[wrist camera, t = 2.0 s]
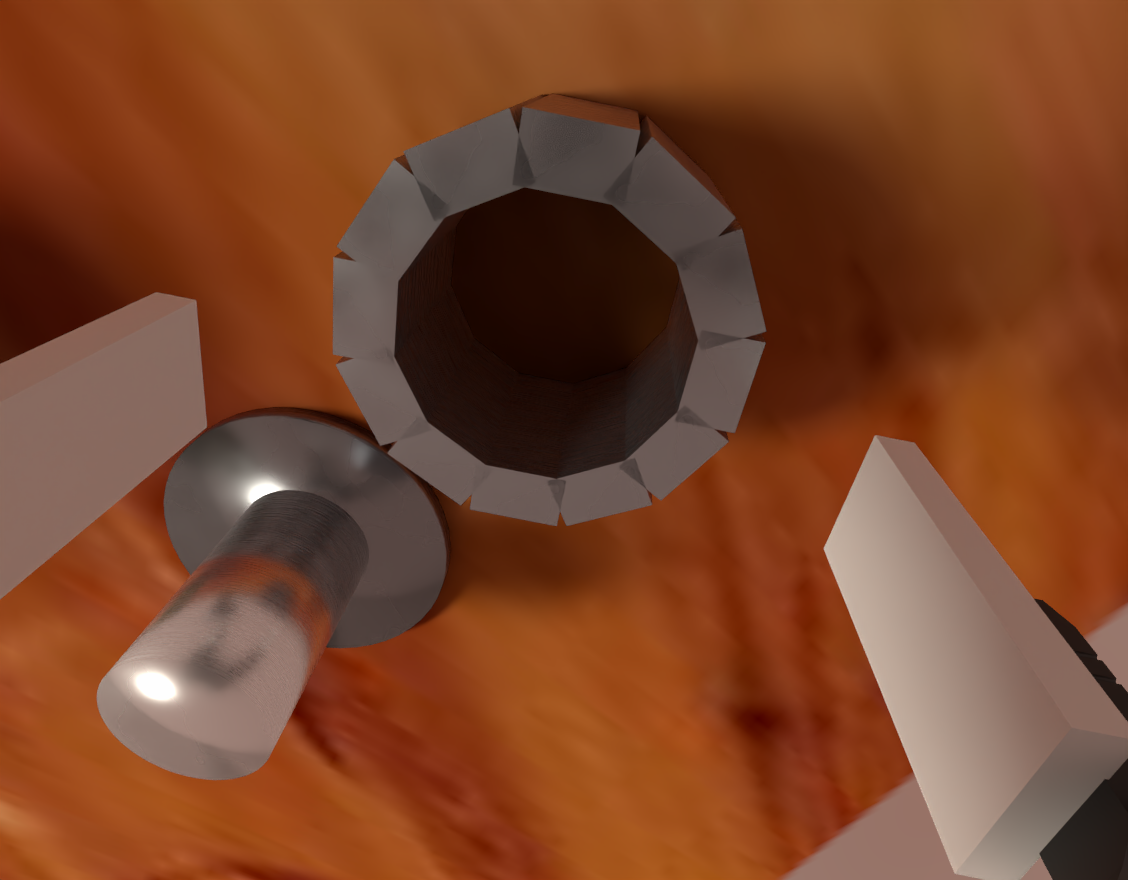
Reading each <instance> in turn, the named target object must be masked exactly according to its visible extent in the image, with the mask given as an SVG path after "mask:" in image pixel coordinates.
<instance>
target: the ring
mask: <svg viewBox="0 0 1128 880" xmlns="http://www.w3.org/2000/svg"><path fill="white" fill-rule="evenodd" d="M404 154H405V155H403V156H400V157H398V158H396V159H394V160H393V162H392V163H391V165H390V166H389V168H388V169H387V171H386V172H385V174H384V175H383V177H382V178H381V180H380V181H379V183H378V184H377V186H376V187H375V189H374V190H373V192H372V194H371V195H370V197H369V198H368V200H367V201H366V203H365V204H364V206H363V207H362V209H361V210H360V212H359V213H358V215H357V216H356V218H355V219H354V221H353V222H352V224H351V225H350V227H349V228H348V230H347V232H346V233H345V235H344V236H343V238H342V239H341V241H340V242H339V244H338V245H337V247H338V248H339V249H341V250H342V252H341V253H339V254H338V255H336V256H335V257H334V271H333V354H334V355H339V356H343V357H342V358H341V359H340V361H339V362H338V363H337V364H336V366H337V368H338V370H339V372H340V373H341V375H342V377H343V379H344V381H345V383H346V384H347V386H348V388H349V390H350V392H351V393H352V395H353V397H354V399H355V401H356V403H357V404H358V406H359V408H360V410H361V412H362V413H363V415H364V417H365V419H366V421H367V423H368V424H369V426H370V428H371V430H372V432H373V433H374V435H375V437H376V439H377V441H378V443H379V444H380V446H381V445H385V444H388V443H392V442H394V443H393V445H392V446H391V448H390V450H389V451H388V453H387V454H389V455H390V456H392V457H393V458H394V459H396V460H397V461H399V462H400V463H401V464H403V465H404V466H406V467H407V468H408V469H410V470H411V471H413V472H414V473H416V474H417V475H418V476H420V477H421V478H423V479H424V480H425V481H427V482H428V483H430V484H431V485H432V486H434V487H435V488H437V489H438V490H440V491H441V492H442V493H444V494H445V495H447V496H448V497H449V498H451V499H452V500H454V501H455V502H456V503H458V504H459V505H462V504H463V503H464V502H465V501H466V499H467V498H468V497H469V496H470V495H471V494H472V497H471V505H470V510H476V511H481V512H486V513H491V514H496V515H501V516H506V517H512V518H517V519H522V520H527V521H532V522H537V523H543V524H548V525H553V526H557V522H558V518H559V513H560V512H561V514H562V517H563V519H564V521H565V524H566V526H569V525H573V524H577V523H581V522H585V521H589V520H593V519H597V518H601V517H605V516H609V515H613V514H617V513H622V512H626V511H630V510H634V509H638V508H642V507H646V506H650V505H652V494H653V495H655V496H656V497H657V498H658V499H660V500H662V499H663V498H664V497H666V496H667V495H668V494H669V493H670V492H671V491H672V490H674V489H675V488H676V487H677V486H678V485H679V484H681V483H682V482H683V481H684V480H685V479H686V478H687V477H689V476H690V475H691V474H692V473H693V472H694V471H696V470H697V469H698V468H699V467H700V466H701V465H702V464H704V463H705V462H706V461H707V460H708V459H709V458H711V457H712V456H713V455H714V454H715V453H716V452H717V451H719V450H720V449H721V448H722V447H723V446H724V445H726V444H727V443H728V442H729V440H728V436H727V432H732V433H735V431H736V428H737V425H738V422H739V419H740V416H741V413H742V411H743V408H744V405H745V402H746V399H747V396H748V393H749V390H750V387H751V384H752V381H753V379H754V376H755V373H756V370H757V367H758V364H759V361H760V358H761V355H762V352H763V349H764V347H765V344H766V342H765V340H764V338H763V336H762V334H761V333H763V332H766V327H765V323H764V319H763V315H762V310H761V306H760V302H759V298H758V294H757V289H756V285H755V281H754V277H753V272H752V268H751V264H750V260H749V255H748V251H747V247H746V243H745V239H744V234H743V230H742V228H741V226H740V225H739V223H738V222H737V220H736V219H735V218H736V217H735V216H734V214H733V212H732V211H731V209H730V208H729V206H728V205H727V203H726V202H725V200H724V199H723V197H722V196H721V194H720V193H719V191H718V190H717V188H716V187H715V185H714V184H713V182H712V181H711V179H710V178H709V176H708V175H707V174H706V173H705V172H704V171H703V170H702V169H701V168H700V167H699V166H698V165H697V164H696V163H695V162H694V161H693V160H692V159H691V158H690V157H689V156H688V155H687V154H686V153H685V152H684V151H682V150H681V149H680V148H679V147H678V146H677V145H676V144H675V143H674V142H673V141H672V140H671V139H670V138H669V137H668V136H667V135H666V134H665V133H664V132H663V131H662V130H661V129H660V128H659V127H658V126H657V125H656V124H655V123H654V122H653V121H652V120H651V119H650V118H649V117H648V116H647V115H646V116H645V117H644V119H643V120H642V121H641V122H640V124H639V117H638V111H637V110H632V109H627V108H622V107H617V106H612V105H607V104H602V103H597V102H592V101H587V100H582V99H577V98H572V97H567V96H562V95H557V94H550V95H548V96H546V97H543V94H542V95H540V96H537V97H535V98H533V99H530V100H528V101H525V102H523V103H520V104H518V105H515V106H513V107H511V108H508V109H506V110H503V111H501V112H498V113H496V114H493V115H491V116H489V117H486V118H484V119H481V120H479V121H476V122H474V123H471V124H469V125H467V126H464V127H462V128H459V129H457V130H454V131H452V132H449V133H447V134H445V135H442V136H440V137H437V138H435V139H432V140H430V141H427V142H425V143H423V144H420V145H418V146H415V147H413V148H410V149H408V150H406V151H404ZM524 187H526V188H531V189H536V190H541V191H546V192H551V193H556V194H561V195H566V196H571V197H576V198H581V199H586V200H591V201H596V202H601V203H606V204H611V205H613V206H614V207H615V208H616V209H617V210H618V211H619V212H621V213H622V214H623V215H624V216H625V217H626V218H627V219H628V220H629V221H630V222H631V223H633V224H634V225H635V226H636V227H637V228H638V229H639V230H640V231H641V232H642V233H644V234H645V235H646V236H647V237H648V238H649V239H650V240H651V241H652V242H653V243H655V244H656V245H657V246H658V247H659V248H660V249H661V250H662V251H663V252H664V253H665V254H667V255H668V256H669V257H670V258H671V259H672V260H673V261H674V262H675V263H676V264H677V268H678V271H679V275H680V277H679V281H678V285H677V289H676V293H675V296H674V300H673V304H672V308H671V312H670V315H669V319H668V323H667V327H666V328H665V329H664V330H663V331H662V332H661V333H660V334H659V335H658V336H657V338H656V339H655V340H654V341H653V342H652V343H651V344H650V345H649V346H648V347H647V348H646V349H645V350H644V351H643V352H642V353H641V354H640V355H639V356H638V357H637V358H636V359H635V360H634V361H633V362H632V363H631V364H630V365H629V366H628V367H627V368H625V369H621V370H618V371H614V372H611V373H608V374H604V375H601V376H598V377H594V378H591V379H588V380H584V381H581V382H578V383H574V384H572V383H567V382H561V381H556V380H551V379H546V378H541V377H536V376H531V375H526V374H521V373H518V372H517V371H515V370H514V369H513V368H512V367H510V366H509V365H508V364H506V363H505V362H504V361H503V360H501V359H500V358H499V357H498V356H496V355H495V354H494V353H493V352H491V351H490V350H489V349H488V348H486V347H485V346H484V345H482V344H481V343H480V342H479V341H477V340H476V339H475V338H474V336H473V334H472V332H471V330H470V327H469V325H468V323H467V321H466V318H465V316H464V314H463V312H462V309H461V307H460V305H459V303H458V300H457V298H456V296H455V293H454V291H453V289H452V287H451V277H452V266H453V256H454V245H455V234H456V225H457V224H458V223H459V221H460V220H461V219H462V217H463V216H464V214H465V213H466V212H467V210H468V209H469V208H471V207H473V206H476V205H479V204H481V203H484V202H487V201H489V200H492V199H495V198H497V197H500V196H503V195H505V194H508V193H511V192H513V191H516V190H519V189H521V188H524ZM726 431H727V432H726ZM651 493H652V494H651Z"/></svg>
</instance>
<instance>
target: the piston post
mask: <svg viewBox="0 0 1128 880" xmlns="http://www.w3.org/2000/svg"><path fill="white" fill-rule="evenodd" d="M390 448H391V445H389V444H385V445H381V446H380V444H379V443H378V441H377V439H376V437H375V435H374V434H373V433H371V432H369V431H367V430H365V429H363V428H361V427H359V426H357V425H355V424H353V423H351V422H348V421H346V420H343V419H340V418H337V417H335V416H332V415H328V414H324V413H320V412H316V411H312V410H304V409H297V408H265V409H256V410H251V411H247V412H243V413H239V414H236V415H234V416H231V417H229V418H227V419H224V420H222V421H220V422H219V423H217V424H216V425H214V426H212V427H211V428H209V429H208V430H207V431H206V432H204V433H203V434H202V435H201V436H200V437H199V438H198V439H196V440H195V441H194V442H193V443H192V444H191V445H190V446H189V447H187V448H186V449H185V450H184V452H183V453H182V454H181V456H180V457H179V458H178V459H177V461H176V462H175V464H174V466H173V468H172V470H171V472H170V474H169V477H168V481H167V484H166V488H165V497H164V512H165V520H166V525H167V529H168V533H169V536H170V539H171V541H172V544H173V547H174V549H175V550H176V552H177V554H178V556H179V558H180V560H181V562H182V563H183V565H184V566H185V567H186V569H187V570H188V572H189V573H190V575H191V576H190V577H189V578H188V579H187V580H186V582H185V583H184V584H183V585H182V586H181V587H180V589H179V590H178V591H177V592H176V593H175V595H174V596H173V597H172V598H171V599H170V600H169V602H168V603H167V604H166V605H165V606H164V607H163V609H162V610H161V611H160V612H159V613H158V615H157V616H156V617H155V618H154V619H153V620H152V622H151V623H150V624H149V625H148V626H147V627H146V629H145V630H144V631H143V632H142V633H141V634H140V636H139V637H138V638H137V639H136V640H135V642H134V643H133V644H132V645H131V646H130V647H129V649H128V650H127V651H126V652H125V653H124V654H123V656H122V657H121V658H120V659H119V660H118V662H117V663H116V664H115V665H114V666H113V667H112V669H111V670H110V671H109V672H108V673H107V674H106V676H105V677H104V678H103V679H102V681H101V683H100V685H99V688H98V691H97V704H98V709H99V712H100V715H101V717H102V719H103V720H104V722H105V724H106V725H107V727H108V728H109V730H110V731H111V732H112V733H113V734H114V736H115V737H116V738H117V739H118V740H119V741H120V742H122V743H123V744H124V745H125V746H126V747H127V748H129V749H130V750H131V751H133V752H134V753H136V754H137V755H139V756H140V757H142V758H143V759H145V760H147V761H149V762H150V763H152V764H155V765H157V766H159V767H161V768H163V769H166V770H169V771H171V772H174V773H177V774H181V775H184V776H189V777H193V778H200V779H208V780H227V779H234V778H239V777H243V776H246V775H248V774H251V773H253V772H254V771H256V770H258V769H259V768H260V767H262V766H263V765H264V764H265V762H266V761H267V760H268V758H269V756H270V754H271V752H272V750H273V749H274V747H275V745H276V743H277V741H278V739H279V737H280V735H281V733H282V731H283V729H284V727H285V725H286V723H287V721H288V720H289V718H290V716H291V714H292V712H293V710H294V708H295V706H296V704H297V702H298V700H299V698H300V696H301V694H302V692H303V691H304V689H305V687H306V685H307V683H308V681H309V679H310V677H311V675H312V673H313V671H314V669H315V667H316V665H317V663H318V662H319V660H320V658H321V656H322V654H323V652H324V650H325V648H326V647H330V648H350V647H360V646H367V645H372V644H376V643H379V642H383V641H386V640H388V639H391V638H393V637H396V636H398V635H400V634H402V633H403V632H405V631H407V630H408V629H410V628H411V627H413V626H414V625H415V624H416V623H418V622H419V621H420V620H421V619H422V618H423V617H424V616H425V615H426V614H427V612H428V611H429V610H430V609H431V607H432V606H433V604H434V603H435V601H436V599H437V598H438V595H439V593H440V590H441V588H442V585H443V582H444V579H445V577H446V574H447V571H448V566H449V561H450V545H451V544H450V536H449V529H448V525H447V522H446V518H445V515H444V512H443V510H442V508H441V505H440V503H439V501H438V499H437V497H436V495H435V494H434V492H433V490H432V489H431V487H430V485H429V484H428V483H427V481H425V480H424V479H423V478H421V477H420V476H418V475H417V474H416V473H414V472H413V471H411V470H410V469H408V468H407V467H406V466H404V465H403V464H401V463H400V462H399V461H397V460H396V459H394V458H393V457H392V456H390V455H389V454H387V453H388V451H389V450H390Z"/></svg>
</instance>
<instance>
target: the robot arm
mask: <svg viewBox="0 0 1128 880" xmlns="http://www.w3.org/2000/svg"><path fill="white" fill-rule="evenodd" d="M206 427H207V420H206V409H205V397H204V385H203V374H202V362H201V351H200V339H199V328H198V316H197V304H196V300H193V299H188V298H183V297H178V296H173V295H168V294H163V293H158V292H155V293H153V294H151V295H149V296H147V297H145V298H142V299H140V300H138V301H136V302H134V303H131V304H129V305H127V306H125V307H123V308H121V309H118V310H116V311H114V312H112V313H110V314H108V315H105V316H103V317H101V318H99V319H97V320H95V321H92V322H90V323H88V324H86V325H84V326H82V327H79V328H77V329H75V330H73V331H71V332H69V333H66V334H64V335H62V336H60V337H58V338H55V339H53V340H51V341H49V342H47V343H45V344H42V345H40V346H38V347H36V348H34V349H32V350H29V351H27V352H25V353H23V354H21V355H19V356H16V357H14V358H12V359H10V360H8V361H6V362H3V363H1V364H0V599H1V598H2V597H4V596H5V595H6V594H7V593H8V592H10V591H11V590H12V589H13V588H14V587H16V586H17V585H18V584H19V583H20V582H22V581H23V580H24V579H25V578H26V577H28V576H29V575H30V574H31V573H32V572H34V571H35V570H36V569H37V568H38V567H40V566H41V565H42V564H43V563H44V562H46V561H47V560H48V559H49V558H50V557H52V556H53V555H54V554H55V553H56V552H58V551H59V550H60V549H61V548H62V547H64V546H65V545H66V544H67V543H68V542H70V541H71V540H72V539H73V538H74V537H76V536H77V535H78V534H79V533H80V532H82V531H83V530H84V529H85V528H86V527H88V526H89V525H90V524H91V523H92V522H94V521H95V520H96V519H97V518H98V517H100V516H101V515H102V514H103V513H104V512H106V511H107V510H108V509H109V508H110V507H112V506H113V505H114V504H115V503H116V502H118V501H119V500H120V499H121V498H122V497H124V496H125V495H126V494H127V493H128V492H130V491H131V490H132V489H133V488H134V487H136V486H137V485H138V484H139V483H140V482H142V481H143V480H144V479H145V478H146V477H148V476H149V475H150V474H151V473H152V472H154V471H155V470H156V469H157V468H158V467H160V466H161V465H162V464H163V463H164V462H166V461H167V460H168V459H169V458H170V457H172V456H173V455H174V454H175V453H176V452H178V451H179V450H180V449H181V448H182V447H184V446H185V445H186V444H187V443H188V442H190V441H191V440H192V439H193V438H194V437H196V436H197V435H198V434H199V433H200V432H202V431H203V430H204V429H205V428H206ZM824 551H825V553H826V556H827V558H828V561H829V563H830V566H831V568H832V571H833V573H834V576H835V578H836V580H837V583H838V585H839V588H840V590H841V593H842V595H843V598H844V600H845V603H846V605H847V608H848V610H849V613H850V615H851V618H852V620H853V623H854V625H855V628H856V630H857V633H858V635H859V638H860V640H861V643H862V645H863V647H864V650H865V652H866V655H867V657H868V660H869V662H870V665H871V667H872V670H873V672H874V675H875V677H876V680H877V682H878V685H879V687H880V690H881V692H882V695H883V697H884V700H885V702H886V705H887V707H888V710H889V712H890V714H891V717H892V719H893V722H894V724H895V727H896V729H897V732H898V734H899V737H900V739H901V742H902V744H903V747H904V749H905V752H906V754H907V757H908V759H909V762H910V764H911V767H912V769H913V772H914V774H915V777H916V779H917V781H918V784H919V786H920V788H921V791H922V794H923V796H924V799H925V801H926V804H927V806H928V809H929V811H930V814H931V816H932V819H933V821H934V824H935V826H936V828H937V831H938V833H939V836H940V838H941V841H942V843H943V846H944V848H945V851H946V853H947V856H948V858H949V861H950V863H951V866H952V868H953V871H954V873H955V874H959V875H964V876H969V877H973V878H979V879H984V880H1020V879H1021V878H1022V877H1023V876H1024V875H1025V873H1026V872H1027V871H1028V870H1029V869H1030V868H1031V867H1032V866H1033V864H1034V863H1035V862H1036V861H1037V860H1038V859H1039V858H1040V857H1041V858H1042V860H1043V862H1044V864H1045V866H1046V867H1047V870H1048V871H1049V873H1050V875H1051V877H1052V879H1053V880H1128V692H1127V691H1126V690H1125V689H1124V688H1123V686H1122V685H1120V684H1116V677H1115V676H1114V675H1113V674H1112V673H1111V671H1110V670H1109V669H1108V668H1107V666H1106V665H1105V664H1104V662H1103V661H1101V660H1097V654H1096V652H1095V651H1094V650H1093V649H1092V648H1091V646H1090V645H1089V644H1088V642H1087V641H1086V640H1085V639H1084V637H1083V636H1082V635H1081V634H1080V632H1079V631H1078V630H1077V629H1076V627H1074V626H1073V625H1072V624H1071V623H1070V622H1068V621H1067V620H1066V619H1065V618H1064V617H1062V616H1061V615H1060V614H1059V613H1057V612H1056V611H1055V610H1054V609H1053V608H1051V607H1050V606H1049V605H1048V604H1046V603H1045V602H1044V601H1043V600H1038V599H1033V597H1032V596H1031V595H1030V593H1029V592H1028V591H1027V589H1026V588H1025V587H1024V586H1023V584H1022V583H1021V582H1020V580H1019V579H1018V578H1017V576H1016V575H1015V574H1014V572H1013V571H1012V570H1011V569H1010V567H1009V566H1008V565H1007V563H1006V562H1005V561H1004V559H1003V558H1002V557H1001V555H1000V554H999V553H998V552H997V550H996V549H995V548H994V546H993V545H992V544H991V542H990V541H989V540H988V538H987V537H986V536H985V535H984V533H983V532H982V531H981V529H980V528H979V527H978V525H977V524H976V523H975V521H974V520H973V519H972V517H971V516H970V515H969V514H968V512H967V511H966V510H965V508H964V507H963V506H962V504H961V503H960V502H959V500H958V499H957V498H956V497H955V495H954V494H953V493H952V491H951V490H950V489H949V487H948V486H947V485H946V483H945V482H944V481H943V480H942V478H941V477H940V476H939V474H938V473H937V472H936V470H935V469H934V468H933V466H932V465H931V464H930V463H929V461H928V460H927V459H926V457H925V456H924V455H923V453H922V452H921V451H920V449H919V448H918V447H917V445H916V444H915V443H913V442H908V441H902V440H897V439H892V438H887V437H882V436H877V435H875V437H874V439H873V441H872V443H871V445H870V448H869V450H868V452H867V454H866V456H865V459H864V461H863V463H862V465H861V468H860V470H859V472H858V474H857V476H856V479H855V481H854V483H853V485H852V487H851V490H850V492H849V494H848V496H847V498H846V501H845V503H844V505H843V507H842V510H841V512H840V514H839V516H838V518H837V521H836V523H835V525H834V527H833V529H832V532H831V534H830V536H829V538H828V540H827V543H826V545H825V547H824Z"/></svg>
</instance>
